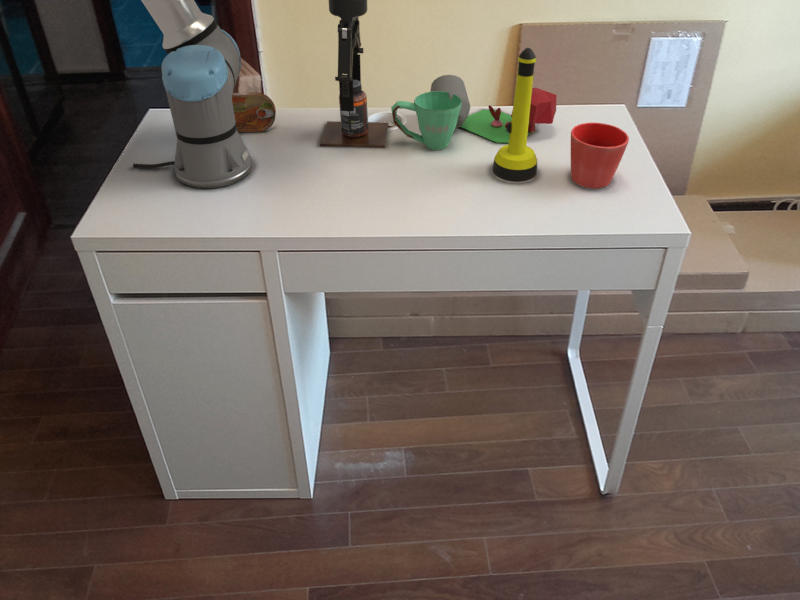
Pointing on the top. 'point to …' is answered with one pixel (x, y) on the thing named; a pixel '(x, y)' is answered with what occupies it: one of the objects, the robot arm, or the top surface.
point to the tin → (253, 111)
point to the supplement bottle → (355, 114)
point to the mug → (431, 118)
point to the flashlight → (519, 130)
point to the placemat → (371, 139)
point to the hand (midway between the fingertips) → (350, 97)
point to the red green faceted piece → (496, 122)
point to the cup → (453, 87)
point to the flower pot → (596, 153)
